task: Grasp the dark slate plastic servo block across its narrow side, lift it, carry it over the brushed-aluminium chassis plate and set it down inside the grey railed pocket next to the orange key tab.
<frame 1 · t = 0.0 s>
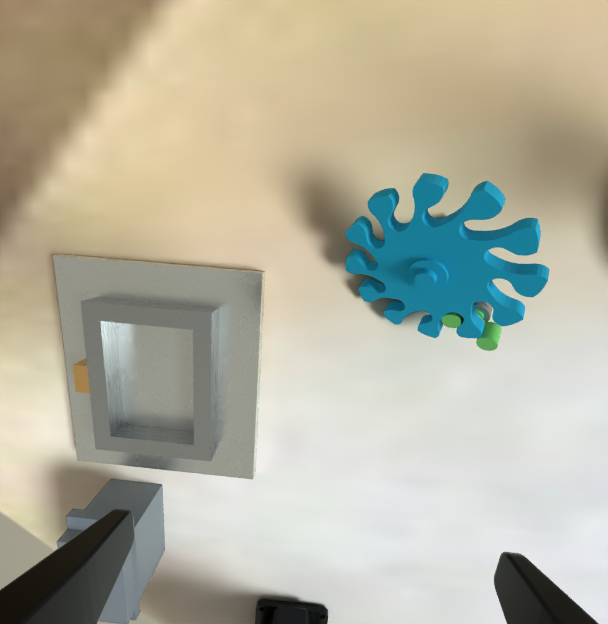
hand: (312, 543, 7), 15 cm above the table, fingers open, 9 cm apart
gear: (414, 268, 20), on the table
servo: (139, 514, 26), on the table
chassis: (167, 370, 23), on the table
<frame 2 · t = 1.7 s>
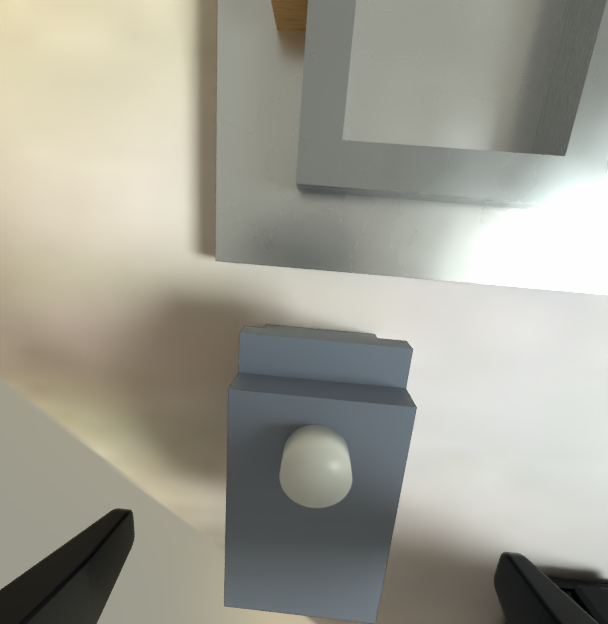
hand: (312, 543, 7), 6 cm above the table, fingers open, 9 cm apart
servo: (313, 404, 13), on the table
chassis: (445, 23, 10), on the table
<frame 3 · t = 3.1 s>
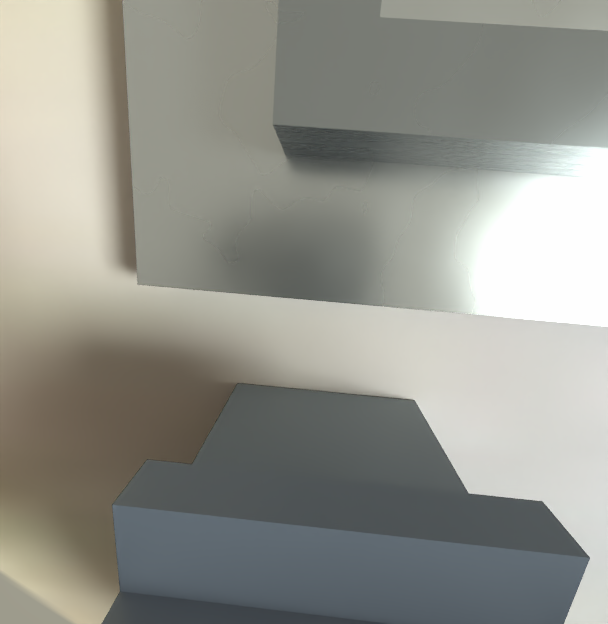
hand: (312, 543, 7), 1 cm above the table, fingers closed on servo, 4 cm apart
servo: (313, 506, 8), on the table, touching gripper
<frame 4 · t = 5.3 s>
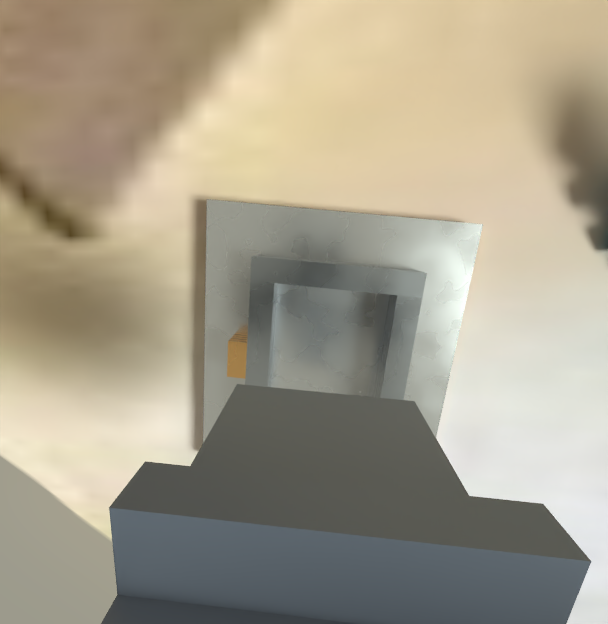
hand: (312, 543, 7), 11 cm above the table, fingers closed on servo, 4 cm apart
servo: (312, 507, 8), point 10 cm above the table, touching gripper
chassis: (325, 352, 18), on the table
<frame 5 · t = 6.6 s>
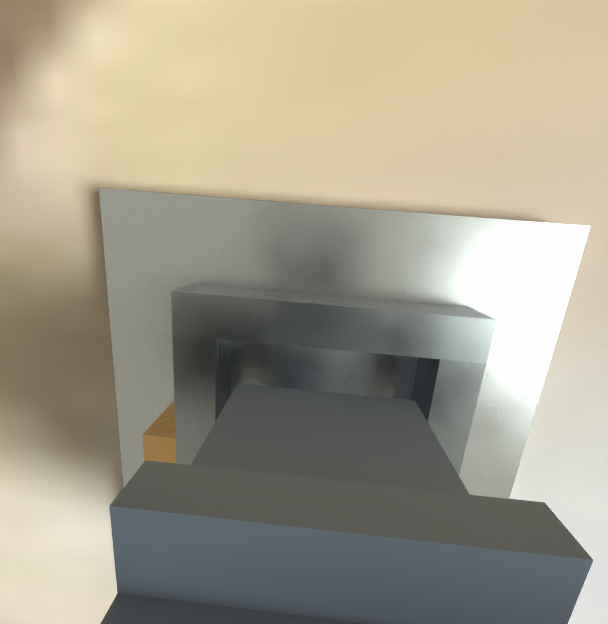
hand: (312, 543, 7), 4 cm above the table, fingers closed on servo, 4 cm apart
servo: (313, 506, 8), point 3 cm above the table, touching gripper
chassis: (314, 429, 12), on the table
when the fingers open (4 cm above the table, at t = 7.5 s): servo drops 2 cm, resting on chassis.
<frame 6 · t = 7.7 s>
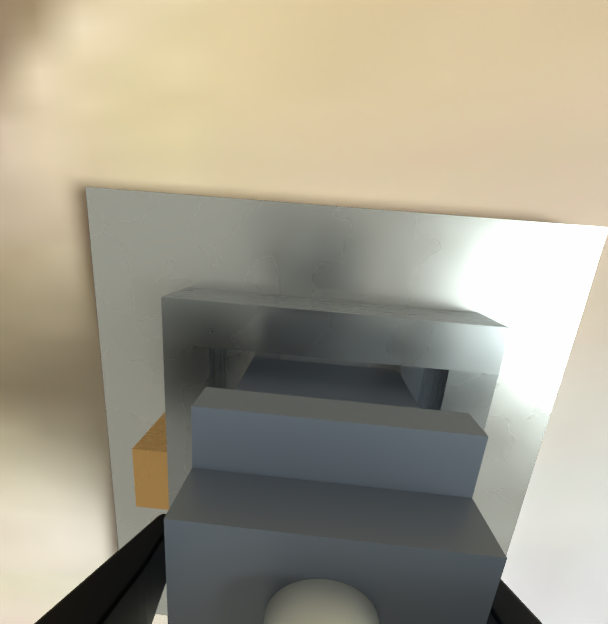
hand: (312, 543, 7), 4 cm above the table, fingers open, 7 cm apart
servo: (314, 461, 10), point 1 cm above the table, touching chassis
chassis: (314, 440, 11), on the table
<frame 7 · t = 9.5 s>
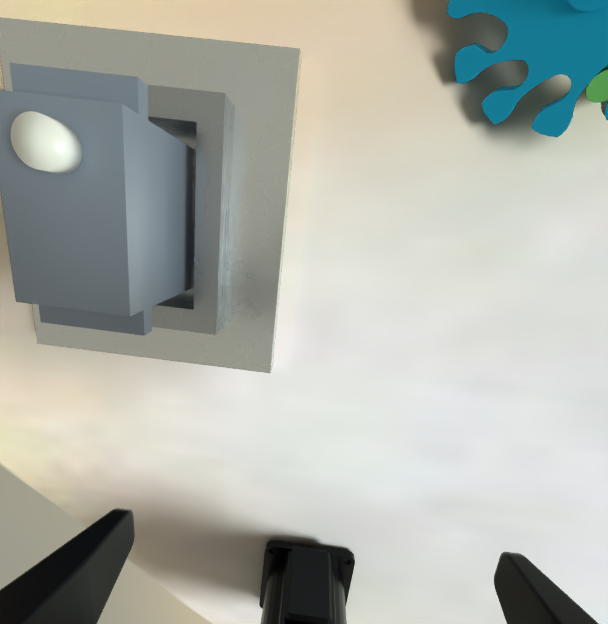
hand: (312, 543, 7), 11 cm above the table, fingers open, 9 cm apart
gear: (534, 50, 14), on the table
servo: (150, 218, 16), point 1 cm above the table, touching chassis
chassis: (159, 217, 17), on the table
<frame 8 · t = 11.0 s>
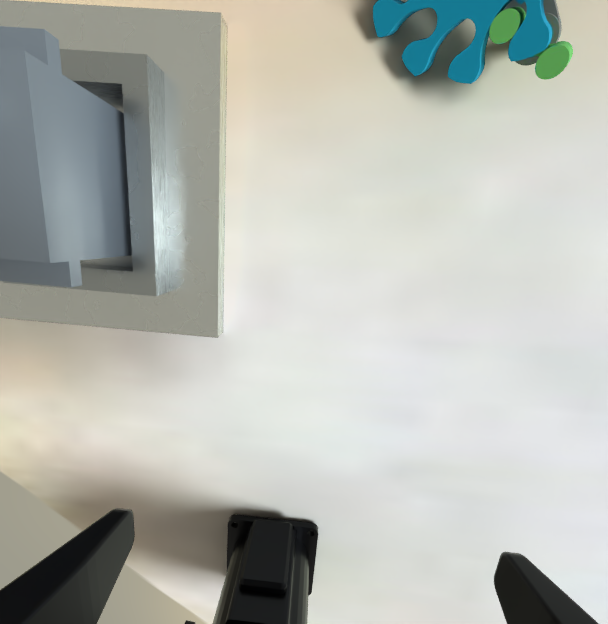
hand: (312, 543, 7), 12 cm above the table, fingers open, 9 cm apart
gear: (452, 5, 15), on the table
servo: (91, 185, 16), point 1 cm above the table, touching chassis
chassis: (103, 187, 17), on the table
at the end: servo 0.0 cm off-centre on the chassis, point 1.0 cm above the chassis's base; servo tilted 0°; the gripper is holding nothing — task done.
